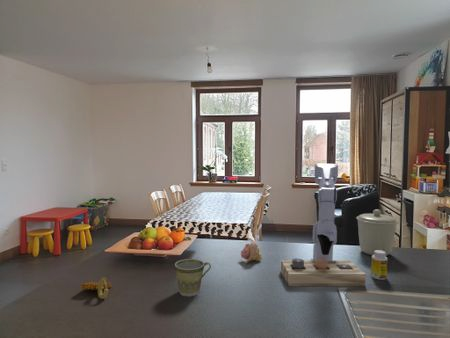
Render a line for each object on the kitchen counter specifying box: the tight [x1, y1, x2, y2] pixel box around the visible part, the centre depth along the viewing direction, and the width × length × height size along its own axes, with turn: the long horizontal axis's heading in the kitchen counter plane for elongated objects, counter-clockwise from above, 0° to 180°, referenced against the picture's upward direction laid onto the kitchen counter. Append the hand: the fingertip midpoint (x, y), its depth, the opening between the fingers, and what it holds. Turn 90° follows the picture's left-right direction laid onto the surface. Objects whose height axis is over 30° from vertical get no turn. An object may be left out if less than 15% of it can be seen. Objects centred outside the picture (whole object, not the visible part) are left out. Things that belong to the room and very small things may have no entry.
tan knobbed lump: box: [240, 240, 263, 264], centre depth 143 cm, size 9×10×10 cm
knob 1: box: [291, 258, 305, 269], centre depth 125 cm, size 4×4×4 cm
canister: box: [355, 209, 399, 257], centre depth 156 cm, size 18×18×21 cm
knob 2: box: [338, 264, 351, 269], centre depth 126 cm, size 4×4×4 cm
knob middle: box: [315, 259, 328, 269], centre depth 125 cm, size 4×4×4 cm
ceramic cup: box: [174, 258, 212, 297], centre depth 113 cm, size 13×10×10 cm
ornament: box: [79, 277, 112, 300], centre depth 111 cm, size 7×10×15 cm
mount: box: [280, 259, 367, 287], centre depth 126 cm, size 14×28×4 cm, turn 92°
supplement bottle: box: [370, 250, 388, 281], centre depth 127 cm, size 6×6×10 cm
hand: (325, 254), depth 125 cm, fingers closed
